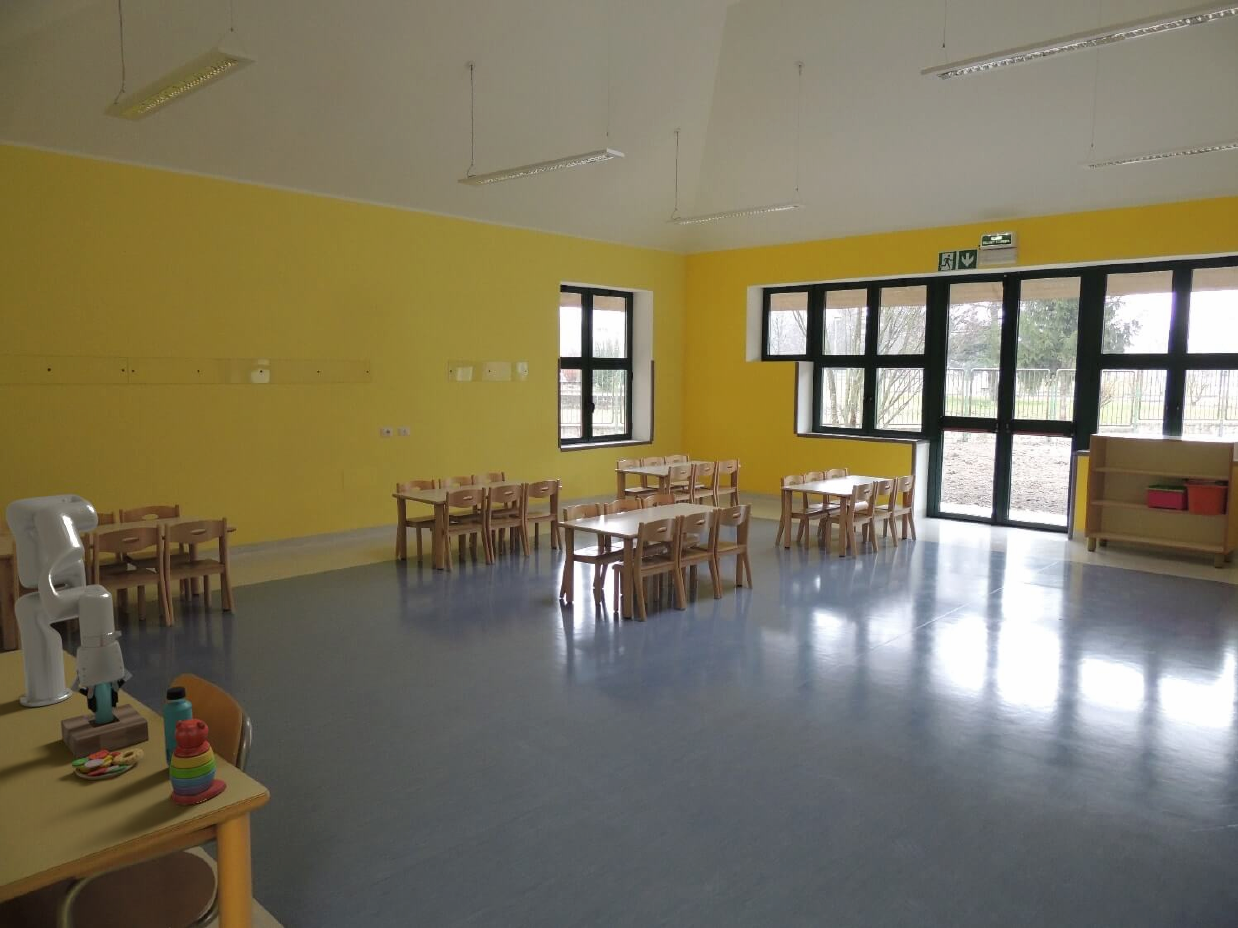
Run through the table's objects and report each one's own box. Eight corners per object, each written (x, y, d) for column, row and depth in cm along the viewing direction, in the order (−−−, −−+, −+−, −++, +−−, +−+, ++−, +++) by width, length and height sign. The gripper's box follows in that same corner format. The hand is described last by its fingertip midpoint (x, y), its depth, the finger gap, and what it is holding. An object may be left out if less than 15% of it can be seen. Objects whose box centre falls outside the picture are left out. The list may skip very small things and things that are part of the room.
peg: (93, 719, 225) (90, 675, 223) (111, 715, 227) (107, 671, 226) (97, 724, 222) (94, 679, 220) (115, 720, 224) (111, 675, 223)
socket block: (62, 738, 226) (60, 720, 225) (130, 721, 237) (129, 703, 236) (77, 759, 214) (76, 740, 213) (148, 739, 225) (147, 721, 225)
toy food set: (151, 760, 214) (150, 748, 214) (106, 786, 202) (105, 772, 201) (107, 753, 218) (106, 741, 217) (61, 778, 205) (59, 765, 205)
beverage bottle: (202, 764, 212) (197, 685, 209) (178, 776, 206) (173, 695, 203) (183, 759, 214) (179, 681, 212) (159, 770, 208) (154, 690, 206)
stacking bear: (230, 785, 202) (226, 711, 200) (205, 807, 192) (200, 730, 190) (186, 782, 203) (181, 709, 201) (159, 804, 193) (154, 728, 191)
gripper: (130, 629, 230) (135, 695, 233) (56, 643, 219) (62, 713, 221) (138, 635, 225) (143, 703, 227) (63, 650, 214) (69, 722, 216)
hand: (103, 707), depth 224 cm, fingers closed on peg, 4 cm apart
